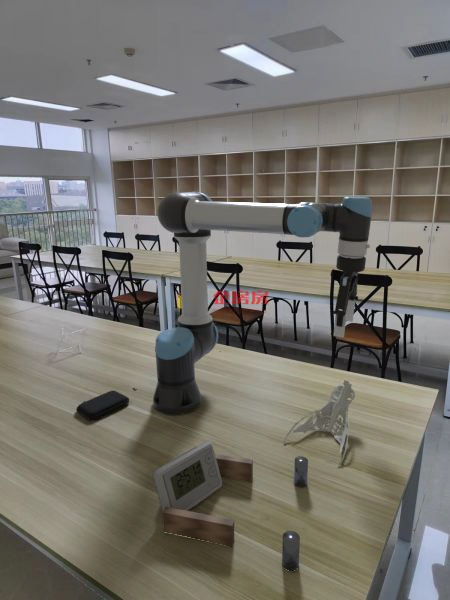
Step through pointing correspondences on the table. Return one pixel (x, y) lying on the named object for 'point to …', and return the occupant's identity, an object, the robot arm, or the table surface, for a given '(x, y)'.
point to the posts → (290, 537)
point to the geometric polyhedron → (69, 341)
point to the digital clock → (188, 478)
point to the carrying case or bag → (102, 405)
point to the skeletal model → (331, 416)
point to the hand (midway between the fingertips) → (343, 328)
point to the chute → (210, 525)
